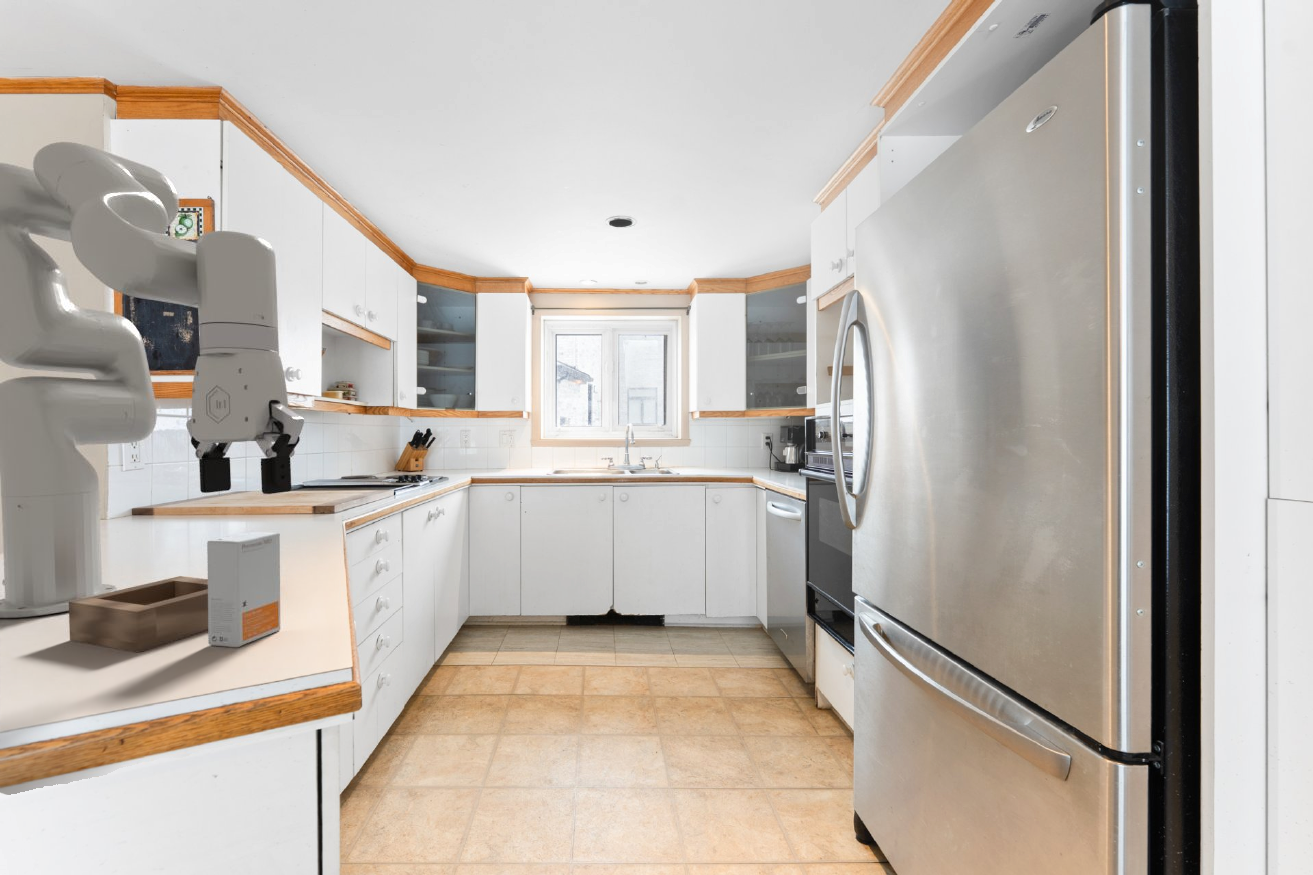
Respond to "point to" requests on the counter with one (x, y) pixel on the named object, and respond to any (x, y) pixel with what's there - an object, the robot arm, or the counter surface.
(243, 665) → the counter surface
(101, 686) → the counter surface
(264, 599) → the skincare box
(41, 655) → the counter surface
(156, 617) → the wooden tray
